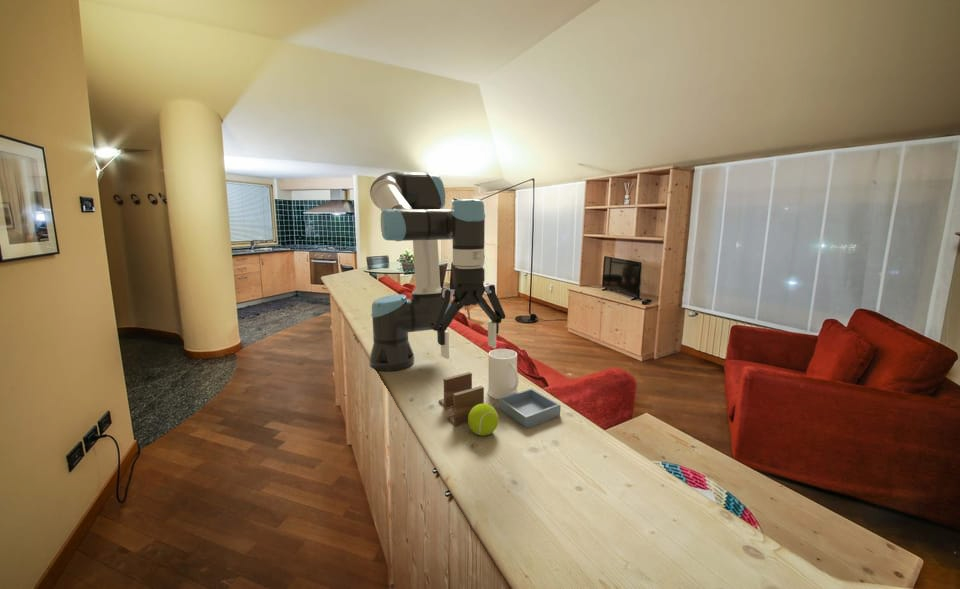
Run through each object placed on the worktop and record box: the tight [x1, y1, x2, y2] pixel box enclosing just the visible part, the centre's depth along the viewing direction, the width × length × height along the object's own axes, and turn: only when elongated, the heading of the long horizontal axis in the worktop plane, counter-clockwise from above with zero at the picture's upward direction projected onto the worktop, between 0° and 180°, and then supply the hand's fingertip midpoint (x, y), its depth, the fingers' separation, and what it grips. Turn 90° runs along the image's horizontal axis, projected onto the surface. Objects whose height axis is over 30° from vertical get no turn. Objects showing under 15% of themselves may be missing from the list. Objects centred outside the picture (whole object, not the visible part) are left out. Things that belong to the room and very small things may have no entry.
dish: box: [497, 388, 561, 430], centre depth 96 cm, size 11×11×3 cm
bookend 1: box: [438, 371, 473, 409], centre depth 102 cm, size 4×8×8 cm, turn 123°
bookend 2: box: [447, 385, 485, 427], centre depth 93 cm, size 4×8×8 cm, turn 123°
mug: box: [487, 348, 520, 400], centre depth 105 cm, size 12×8×12 cm
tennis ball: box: [467, 403, 499, 436], centre depth 87 cm, size 7×7×7 cm
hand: (469, 351), depth 93 cm, fingers open, 13 cm apart
